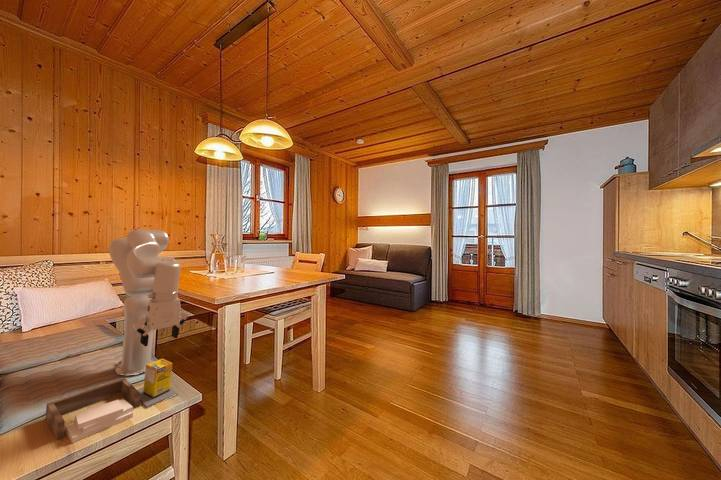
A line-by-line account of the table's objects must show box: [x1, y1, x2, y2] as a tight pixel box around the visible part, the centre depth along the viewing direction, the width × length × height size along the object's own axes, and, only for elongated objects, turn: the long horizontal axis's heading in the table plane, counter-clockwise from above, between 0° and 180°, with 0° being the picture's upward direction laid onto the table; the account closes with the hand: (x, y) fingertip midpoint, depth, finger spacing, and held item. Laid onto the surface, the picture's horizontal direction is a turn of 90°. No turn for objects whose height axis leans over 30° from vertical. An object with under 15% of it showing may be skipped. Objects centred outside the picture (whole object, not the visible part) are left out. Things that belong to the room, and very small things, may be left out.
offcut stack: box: [64, 398, 134, 444], centre depth 86 cm, size 8×14×4 cm, turn 149°
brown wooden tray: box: [45, 377, 140, 441], centre depth 90 cm, size 13×19×5 cm, turn 149°
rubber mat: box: [136, 386, 179, 409], centre depth 102 cm, size 12×10×1 cm
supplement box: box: [143, 358, 173, 399], centre depth 102 cm, size 6×6×11 cm
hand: (160, 340), depth 102 cm, fingers open, 9 cm apart
